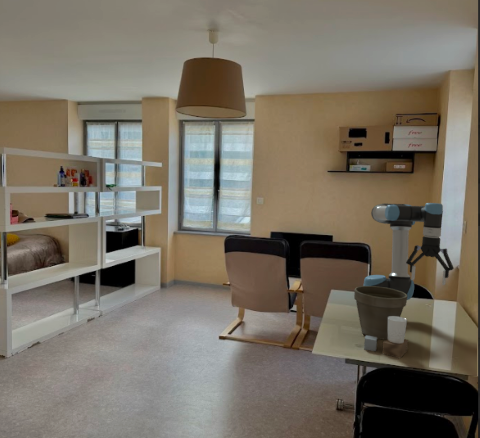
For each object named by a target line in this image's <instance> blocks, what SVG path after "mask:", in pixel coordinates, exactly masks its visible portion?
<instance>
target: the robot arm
mask: <svg viewBox="0 0 480 438" xmlns="http://www.w3.org/2000/svg"><path fill="white" fill-rule="evenodd" d="M443 209H444V205H443V204H442V203H438V202H426V203H425V204H424V205H411V204H407V203H406V204H405V203H388V202H387V203H379V204H376V205H375V206H373V208H372V209H371V213H370V214H371V217H372V219H373V220H374V221H375V222H377V223H380V224H385V225H386V224H387V225H389V228H390V229H391V230H392V247H391V272H390V273H389V274H388V277H387V276H385V275H383V274H372V275H371V274H370V275H367V276H366V277H364V280H363V286H376V287H384V288H390V289H394V290H398V291H401V292H404V293H405V294H407V301H409V300H410V299H411V298H412V297H413V295H414V290H415V281H414V280H416V279H415V278H416V277H415V276H416V264H417V263H418V262H419V261H420V260H421V259H422V258H423V257H424V256H425V257H426V258H428V257H430V258H435V259H436V260H437V261H438V262H439V264H440V265H441V266H442V268H443V269H444V270H443V272H442V283H441V286H445V285H446V280H447V279H448V278H449V276H450V275H449V273H450V271H453V270H454V269H455V268H454V265H453V263H452V261H451V258H450V257H449V254H448V248H441V236H442V226H443V225H442V224H443V223H442V222H443V214H444V210H443ZM417 222H419V223H423V230H422V239H421V240H422V241H421V243H422V244H421V246H420V245H417V244H416V245H415V246H414V247H413V251H412V252H411V254H410V256H409V236H410V235H409V233H410V232H409V231H410V230H411V229H412V228H413V227H412V226H414V225H415V224H416V223H417ZM418 251H421V253H420V254H419V255H418V256H417V257H416V258H415V256H416V254H417V253H418ZM439 253H441V254H442V255H443V257H444V259H445V261H446V262H445V261H444V259H443V258H442V257H441V255H440V254H439ZM414 258H415V259H414ZM413 259H414V260H413ZM408 267H409V268H408ZM408 269H409V271H408ZM408 272H409V273H410V274H409V273H408Z"/></svg>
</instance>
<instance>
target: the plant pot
mask: <svg viewBox="0 0 480 438" xmlns="http://www.w3.org/2000/svg"><path fill="white" fill-rule="evenodd" d="M353 296H354V300H355V302H356V307H357V313H358V318H359V319H358V320H359V324H360V331H361V333H362V334H363V336H364V335H365V336H366V335H367V336H374V337H377V340H387V339H388V317H390V316H397V317H402V313H403V310H404V307H406V306H407V301H408V300H407V294H405V293H404V292H401V291H398V290H394V289H390V288H384V287H376V286H364V285H361V286H356V287H355V288H354V294H353Z"/></svg>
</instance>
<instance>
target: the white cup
mask: <svg viewBox="0 0 480 438" xmlns="http://www.w3.org/2000/svg"><path fill="white" fill-rule="evenodd" d="M407 321H408V319H407V318H405V317H402V316H400V317H397V316H390V317H388V341H390V342H392V343H398V344H400V343H404V339H405V337H406V330H407V323H408V322H407Z"/></svg>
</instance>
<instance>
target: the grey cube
mask: <svg viewBox="0 0 480 438" xmlns="http://www.w3.org/2000/svg"><path fill="white" fill-rule="evenodd" d="M377 342H378V339H377V337H374V336H367V335H365V336H364V343H363V350H365V351H370V352H371V351H372V352H376V351H377V348H378V347H377V345H378V344H377Z"/></svg>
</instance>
